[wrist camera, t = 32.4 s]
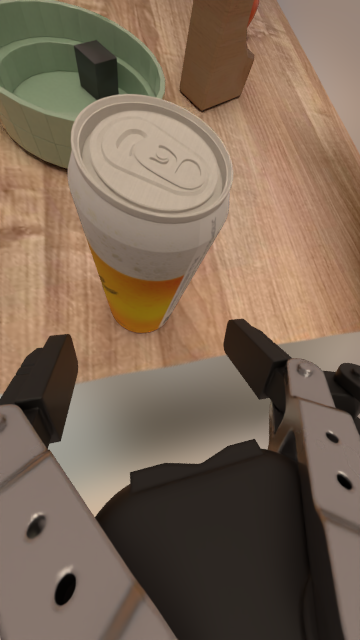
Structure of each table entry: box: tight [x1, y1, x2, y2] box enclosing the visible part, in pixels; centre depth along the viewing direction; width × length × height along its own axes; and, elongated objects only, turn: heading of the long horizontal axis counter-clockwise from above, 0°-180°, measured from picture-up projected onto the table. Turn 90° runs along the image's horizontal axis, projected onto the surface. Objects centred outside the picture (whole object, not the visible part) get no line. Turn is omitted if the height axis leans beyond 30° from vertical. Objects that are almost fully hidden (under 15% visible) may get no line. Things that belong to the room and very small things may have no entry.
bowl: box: [0, 0, 165, 169], centre depth 23 cm, size 19×19×6 cm
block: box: [74, 40, 119, 100], centre depth 25 cm, size 4×4×4 cm
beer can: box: [68, 94, 233, 333], centre depth 13 cm, size 6×6×15 cm
